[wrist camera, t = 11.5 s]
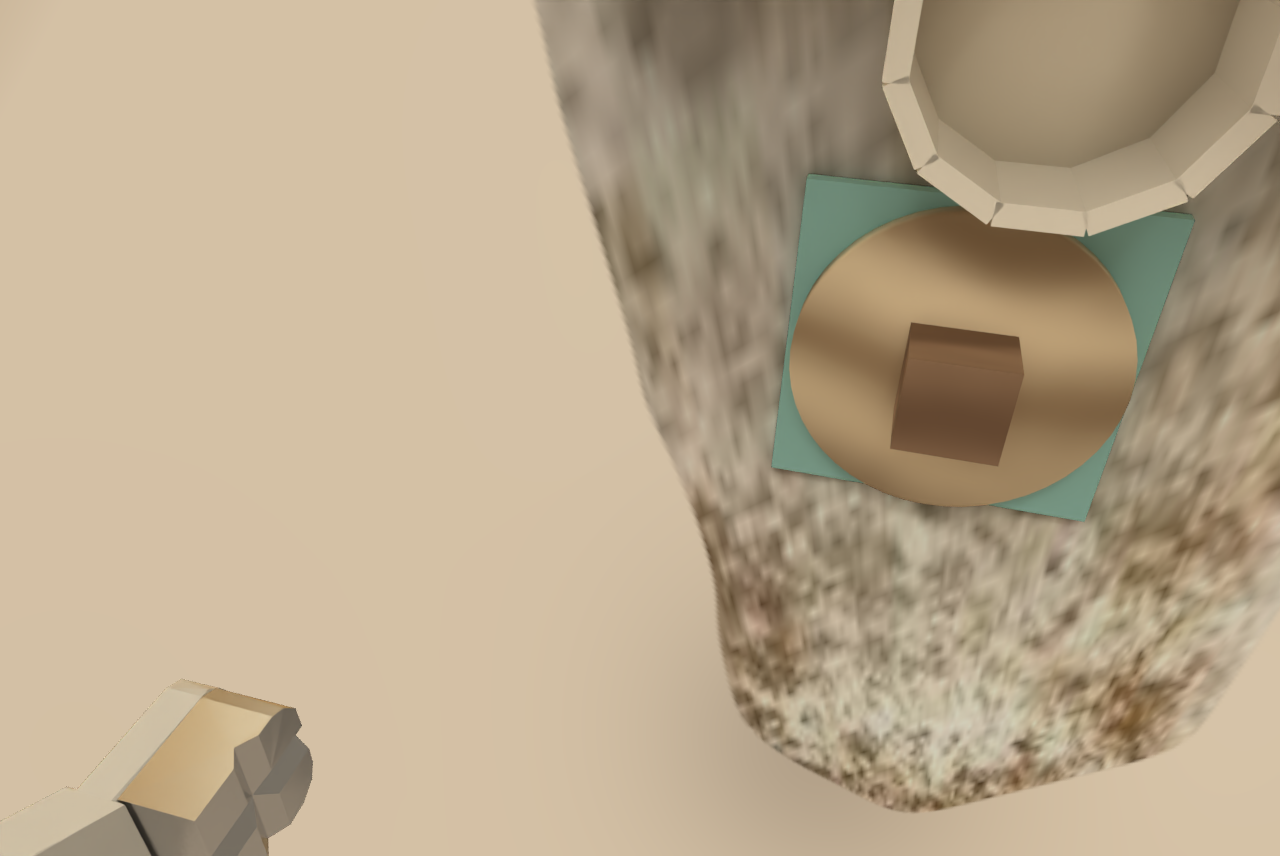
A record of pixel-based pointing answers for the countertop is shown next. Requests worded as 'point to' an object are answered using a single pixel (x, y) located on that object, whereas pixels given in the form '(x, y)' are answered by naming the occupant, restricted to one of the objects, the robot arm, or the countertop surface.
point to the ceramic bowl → (1079, 102)
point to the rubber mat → (856, 206)
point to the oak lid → (962, 359)
